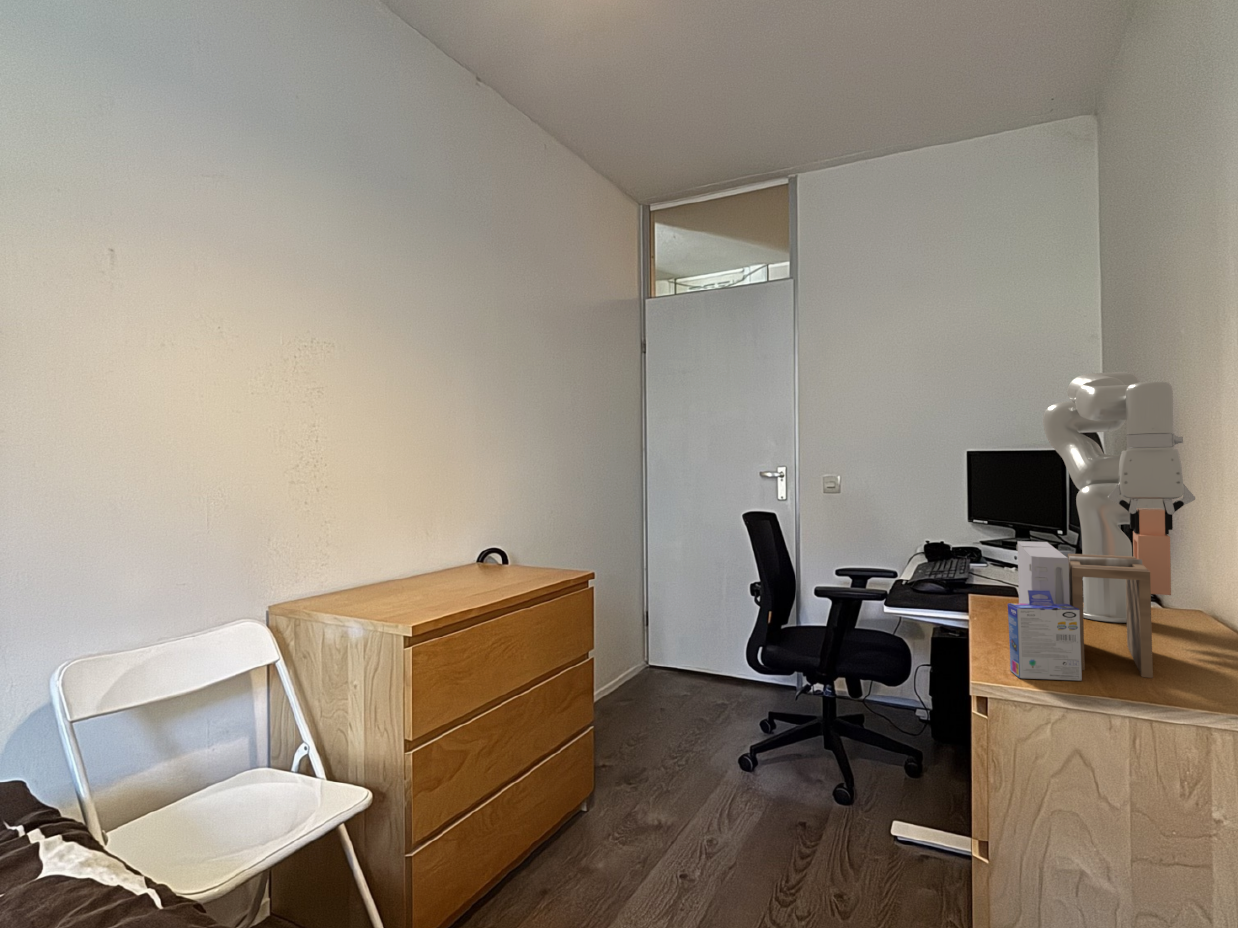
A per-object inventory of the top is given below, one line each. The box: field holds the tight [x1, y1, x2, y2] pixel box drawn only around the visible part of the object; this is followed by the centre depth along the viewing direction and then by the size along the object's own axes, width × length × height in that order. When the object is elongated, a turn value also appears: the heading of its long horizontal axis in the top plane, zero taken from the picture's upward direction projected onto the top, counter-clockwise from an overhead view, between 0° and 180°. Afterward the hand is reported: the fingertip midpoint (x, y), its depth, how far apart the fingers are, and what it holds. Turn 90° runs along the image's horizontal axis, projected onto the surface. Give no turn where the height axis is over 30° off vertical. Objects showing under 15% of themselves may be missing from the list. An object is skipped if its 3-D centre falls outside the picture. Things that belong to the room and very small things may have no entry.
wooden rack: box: [1067, 553, 1154, 679], centre depth 125 cm, size 22×11×19 cm, turn 148°
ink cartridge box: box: [1007, 590, 1083, 682], centre depth 116 cm, size 10×6×14 cm, turn 78°
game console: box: [1016, 540, 1070, 605], centre depth 132 cm, size 6×27×20 cm, turn 154°
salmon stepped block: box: [1132, 508, 1172, 596], centre depth 136 cm, size 8×5×16 cm, turn 148°
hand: (1150, 532), depth 136 cm, fingers closed on salmon stepped block, 4 cm apart
